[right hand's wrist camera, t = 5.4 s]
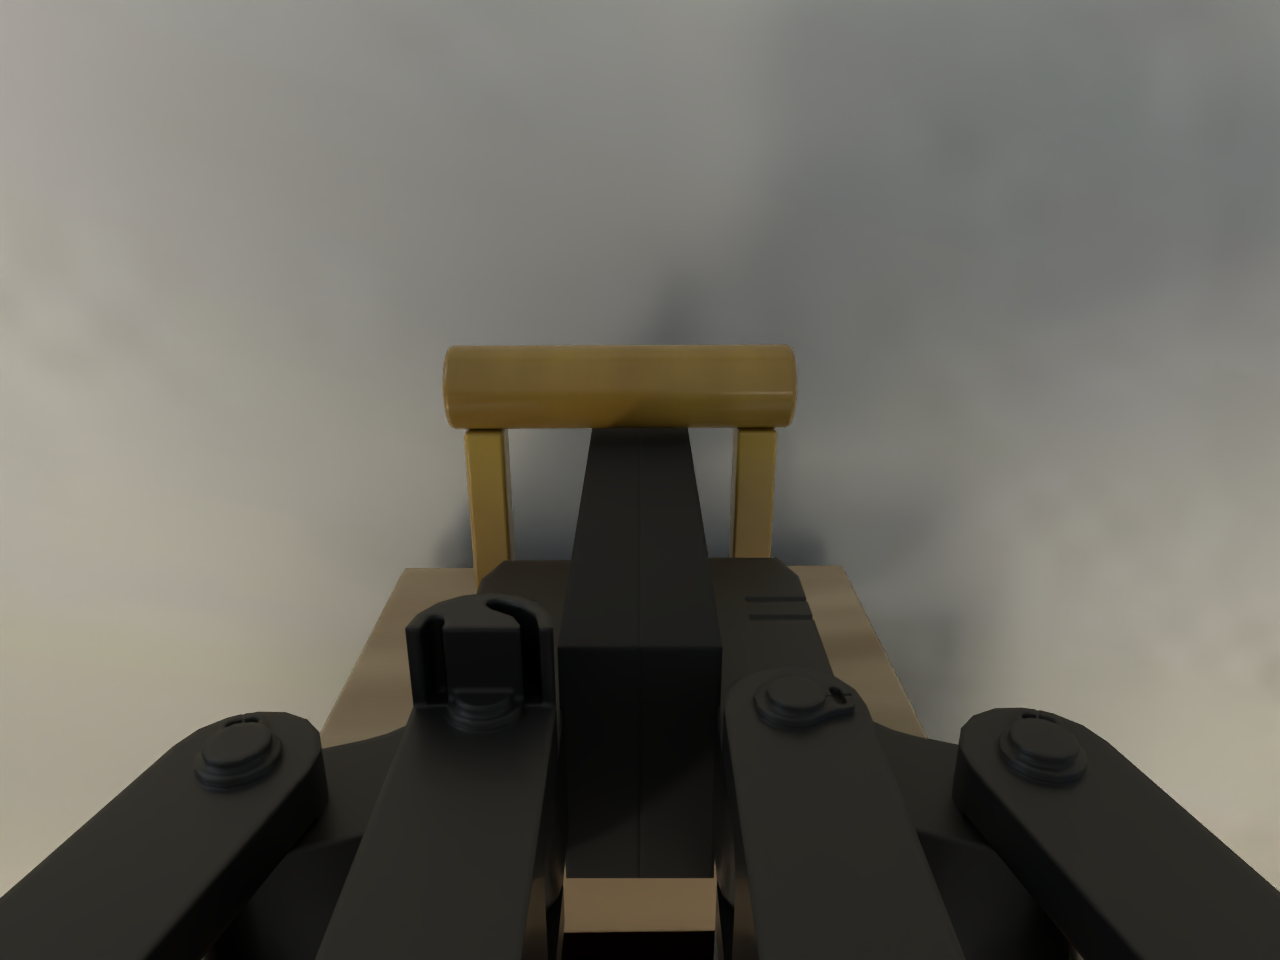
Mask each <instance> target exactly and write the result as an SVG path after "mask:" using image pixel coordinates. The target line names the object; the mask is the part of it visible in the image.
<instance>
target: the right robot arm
mask: <svg viewBox="0 0 1280 960" xmlns="http://www.w3.org/2000/svg"><path fill="white" fill-rule="evenodd" d="M812 617H813V615H812V612H811V609H810V607H809V604H808V602H806V595H805V593H804V590H803V587H802V584H801V581H800V579H799V576H798V575H797V574H796V573H794V572H793V571H792V570H791V569H789V568H788V567H787V566H786V565H784V564H783V563H782V562H781V561H780V560H778V559H777V558H708V553H707V546H706V540H705V534H704V528H703V521H702V515H701V509H700V503H699V496H698V490H697V484H696V478H695V471H694V465H693V459H692V453H691V446H690V440H689V434H688V428H592V434H591V440H590V446H589V453H588V459H587V465H586V471H585V478H584V484H583V490H582V496H581V503H580V509H579V515H578V521H577V528H576V534H575V540H574V546H573V553H572V559H571V561H503V562H502V563H500V564H499V565H498V566H497V567H496V568H494V569H493V570H492V571H491V572H490V573H488V574H487V575H486V576H485V577H483V578H482V579H481V582H480V585H479V588H478V591H477V593H476V594H472V595H462V596H459V597H455V598H452V599H449V600H445V601H442V602H438V603H436V604H434V605H432V606H431V607H429V608H427V609H425V610H423V611H422V612H420V613H418V614H417V615H416V616H415V617H414V618H413V619H412V621H411V622H410V623H409V624H408V625H407V626H406V628H405V633H406V643H407V652H408V661H409V670H410V680H411V689H412V698H413V708H412V711H411V714H410V716H409V719H408V721H407V724H406V726H403V727H401V728H399V729H397V730H394V731H392V732H390V733H388V734H384V735H380V736H377V737H373V738H370V739H366V740H362V741H357V742H352V743H347V744H342V745H337V746H333V747H328V748H323V749H322V745H321V738H320V733H319V731H318V730H317V729H316V728H315V727H314V726H313V725H312V724H311V723H310V722H309V721H308V720H307V719H304V718H301V717H298V716H295V715H292V714H289V713H286V712H254V713H246V714H244V715H237V716H232V717H228V718H226V719H223V720H221V721H218V722H216V723H213V724H211V725H208V726H206V727H203V728H201V729H198V730H197V731H195V732H194V733H192V734H191V735H189V736H188V737H186V738H185V739H183V740H182V741H180V742H179V743H177V744H176V745H174V746H173V747H172V748H171V749H170V750H169V751H167V752H166V753H165V754H164V755H163V756H162V757H161V758H159V759H158V760H157V761H156V762H155V763H154V764H153V765H151V766H150V767H149V768H148V769H147V770H146V771H145V772H143V773H142V774H141V775H140V776H139V777H138V778H137V779H136V780H134V781H133V782H132V783H131V784H130V785H129V786H128V787H126V788H125V789H124V790H123V791H122V792H121V793H120V794H118V795H117V796H116V797H115V798H114V799H113V800H112V801H110V802H109V803H108V804H107V805H106V806H105V807H104V808H103V809H101V810H100V811H99V812H98V813H97V814H96V815H95V816H93V817H92V818H91V819H90V820H89V821H88V822H87V823H85V824H84V825H83V826H82V827H81V828H80V829H79V830H77V831H76V832H75V833H74V834H73V835H72V836H71V837H70V838H68V839H67V840H66V841H65V842H64V843H63V844H62V845H60V846H59V847H58V848H57V849H56V850H55V851H54V852H52V853H51V854H50V855H49V856H48V857H47V858H46V859H44V860H43V861H42V862H41V863H40V864H39V865H38V866H37V867H35V868H34V869H33V870H32V871H31V872H30V873H29V874H27V875H26V876H25V877H24V878H23V879H22V880H21V881H19V882H18V883H17V884H16V885H15V886H14V887H13V888H11V889H10V890H9V891H8V892H7V893H6V894H5V895H4V896H2V897H1V898H0V960H561V958H562V947H563V936H564V925H565V914H564V889H563V879H564V869H565V861H566V878H714V862H715V865H716V874H717V889H716V914H715V939H714V960H1280V892H1279V891H1278V890H1277V889H1276V888H1274V887H1273V886H1272V885H1271V884H1270V883H1269V882H1268V881H1266V880H1265V879H1264V878H1263V877H1262V876H1261V875H1260V874H1258V873H1257V872H1256V871H1255V870H1254V869H1253V868H1252V867H1250V866H1249V865H1248V864H1247V863H1246V862H1245V861H1244V860H1242V859H1241V858H1240V857H1239V856H1238V855H1237V854H1235V853H1234V852H1233V851H1232V850H1231V849H1230V848H1229V847H1227V846H1226V845H1225V844H1224V843H1223V842H1222V841H1221V840H1219V839H1218V838H1217V837H1216V836H1215V835H1214V834H1213V833H1211V832H1210V831H1209V830H1208V829H1207V828H1206V827H1204V826H1203V825H1202V824H1201V823H1200V822H1199V821H1198V820H1196V819H1195V818H1194V817H1193V816H1192V815H1191V814H1190V813H1188V812H1187V811H1186V810H1185V809H1184V808H1183V807H1182V806H1180V805H1179V804H1178V803H1177V802H1176V801H1175V800H1174V799H1172V798H1171V797H1170V796H1169V795H1168V794H1167V793H1165V792H1164V791H1163V790H1162V789H1161V788H1160V787H1159V786H1157V785H1156V784H1155V783H1154V782H1153V781H1152V780H1151V779H1149V778H1148V777H1147V776H1146V775H1145V774H1144V773H1143V772H1141V771H1140V770H1139V769H1138V768H1137V767H1136V766H1135V765H1133V764H1132V763H1131V762H1130V761H1129V760H1128V759H1126V758H1125V757H1124V756H1123V755H1122V754H1121V753H1120V752H1118V751H1117V750H1116V749H1115V748H1114V747H1113V746H1112V745H1110V744H1109V743H1108V742H1107V741H1105V740H1104V739H1102V738H1101V737H1099V736H1098V735H1096V734H1095V733H1093V732H1092V731H1090V730H1089V729H1087V728H1086V727H1084V726H1083V725H1080V724H1078V723H1075V722H1073V721H1070V720H1068V719H1065V718H1063V717H1060V716H1058V715H1056V714H1053V713H1049V712H1045V711H1041V710H1039V711H1037V710H1035V709H1027V708H995V709H992V710H989V711H986V712H983V713H980V714H977V715H974V716H972V718H971V719H970V720H969V721H968V722H967V723H966V724H965V725H964V726H963V727H962V728H961V732H960V739H959V745H957V744H952V743H947V742H942V741H937V740H932V739H927V738H923V737H918V736H914V735H910V734H906V733H903V732H899V731H896V730H892V729H890V728H888V727H885V726H883V725H881V724H879V723H876V722H874V721H873V720H872V717H871V715H870V712H869V710H868V707H867V705H866V703H865V702H864V701H863V699H862V698H861V697H860V695H859V694H858V692H857V691H856V690H855V689H854V688H852V687H851V686H849V685H848V684H846V683H845V682H843V681H842V680H840V679H839V678H837V677H835V676H834V674H833V671H832V668H831V665H830V663H829V660H828V657H827V654H826V651H825V649H824V646H823V643H822V640H821V637H820V635H819V632H818V629H817V626H816V623H815V621H814V620H813V618H812Z"/></svg>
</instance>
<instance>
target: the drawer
mask: <svg viewBox="0 0 1280 960" xmlns="http://www.w3.org/2000/svg"><path fill="white" fill-rule="evenodd" d="M796 398H797V370H796V361H795V356H794V353H793V350H792V348H791V347H790V346H788V345H785V344H783V345H500V346H452V347H450V348H449V349H448V350H447V353H446V356H445V360H444V366H443V401H444V408H445V413H446V417H447V420H448V423H449V425H450V426H451V427H452V428H455V429H467V431H466V433H465V435H464V442H465V455H466V468H467V482H468V495H469V509H470V522H471V536H472V549H473V563H474V568H407V569H404V570H403V572H402V574H401V576H400V578H399V580H398V582H397V584H396V586H395V588H394V590H393V592H392V594H391V596H390V597H389V599H388V601H387V603H386V605H385V607H384V609H383V611H382V613H381V615H380V617H379V619H378V621H377V623H376V625H375V627H374V629H373V631H372V633H371V635H370V637H369V639H368V640H367V642H366V644H365V646H364V648H363V650H362V652H361V654H360V656H359V658H358V660H357V662H356V664H355V666H354V668H353V670H352V672H351V674H350V676H349V678H348V680H347V682H346V684H345V685H344V687H343V689H342V691H341V693H340V695H339V697H338V699H337V701H336V703H335V705H334V707H333V709H332V711H331V713H330V715H329V717H328V719H327V721H326V723H325V725H324V727H323V729H322V730H321V732H320V738H321V745H322V749H323V748H328V747H333V746H337V745H342V744H347V743H352V742H357V741H362V740H366V739H370V738H373V737H377V736H380V735H384V734H388V733H390V732H392V731H394V730H397V729H399V728H401V727H403V726H406V724H407V721H408V719H409V716H410V714H411V711H412V708H413V698H412V689H411V680H410V670H409V661H408V652H407V643H406V633H405V628H406V626H407V625H408V624H409V623H410V622H411V621H412V619H413V618H414V617H415V616H416V615H417V614H418V613H420V612H422V611H423V610H425V609H427V608H429V607H431V606H432V605H434V604H436V603H438V602H442V601H445V600H449V599H452V598H455V597H459V596H462V595H472V594H476V593H477V591H478V588H479V585H480V582H481V579H482V578H483V577H485V576H486V575H487V574H488V573H490V572H491V571H492V570H493V569H494V568H496V567H497V566H498V565H499V564H500V563H502V562H503V561H515V545H514V527H513V510H512V492H511V474H510V456H509V438H508V429H572V428H734V430H733V456H732V482H731V508H730V534H729V558H770V553H771V535H772V517H773V500H774V482H775V465H776V447H777V432H776V430H775V428H784V427H787V426H789V425H790V424H791V422H792V419H793V417H794V413H795V407H796ZM787 567H788V568H789V569H791V570H792V571H793V572H794V573H796V574H797V575H798V576H799V579H800V581H801V584H802V587H803V590H804V593H805V595H806V602H808V604H809V607H810V609H811V612H812V615H813V617H812V618H813V620H814V621H815V623H816V626H817V629H818V632H819V635H820V637H821V640H822V643H823V646H824V649H825V651H826V654H827V657H828V660H829V663H830V665H831V668H832V671H833V674H834V676H835V677H837V678H839V679H840V680H842V681H843V682H845V683H846V684H848V685H849V686H851V687H852V688H854V689H855V690H856V691H857V692H858V694H859V695H860V697H861V698H862V699H863V701H864V702H865V703H866V705H867V707H868V710H869V712H870V715H871V717H872V720H873V721H874V722H876V723H879V724H881V725H883V726H885V727H888V728H890V729H892V730H896V731H899V732H903V733H906V734H910V735H914V736H918V737H923V738H927V736H926V734H925V732H924V730H923V728H922V726H921V724H920V722H919V720H918V718H917V716H916V714H915V712H914V709H913V707H912V705H911V703H910V701H909V699H908V697H907V695H906V693H905V691H904V689H903V687H902V685H901V683H900V681H899V679H898V677H897V675H896V673H895V671H894V669H893V667H892V665H891V663H890V661H889V659H888V657H887V655H886V653H885V651H884V649H883V647H882V645H881V643H880V641H879V639H878V637H877V635H876V633H875V631H874V629H873V627H872V625H871V623H870V621H869V619H868V617H867V615H866V613H865V611H864V609H863V607H862V605H861V603H860V601H859V599H858V597H857V595H856V593H855V591H854V589H853V587H852V585H851V583H850V581H849V579H848V577H847V575H846V573H845V571H844V569H843V567H842V566H839V565H830V566H787ZM927 739H928V738H927ZM563 889H564V914H565V925H564V936H563V947H562V958H561V960H714V939H715V914H716V889H717V874H716V865H715V862H714V878H566V861H565V869H564V879H563Z"/></svg>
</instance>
